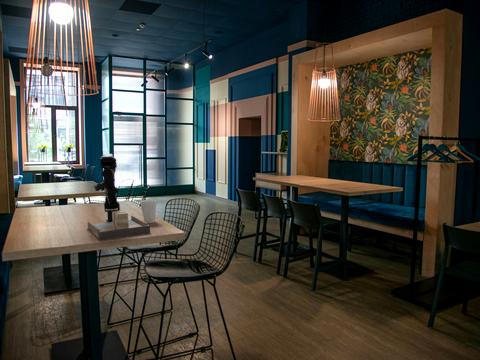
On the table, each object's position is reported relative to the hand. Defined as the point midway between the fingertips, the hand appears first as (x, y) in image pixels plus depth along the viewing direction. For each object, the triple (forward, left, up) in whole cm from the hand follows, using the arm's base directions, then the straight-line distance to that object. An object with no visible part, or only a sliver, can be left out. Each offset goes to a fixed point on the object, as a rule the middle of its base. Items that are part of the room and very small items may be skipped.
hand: (110, 203), depth 231 cm
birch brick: (+21, 0, -11) cm, 24 cm away
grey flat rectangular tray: (+15, 0, -13) cm, 20 cm away
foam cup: (+3, +22, -13) cm, 26 cm away
